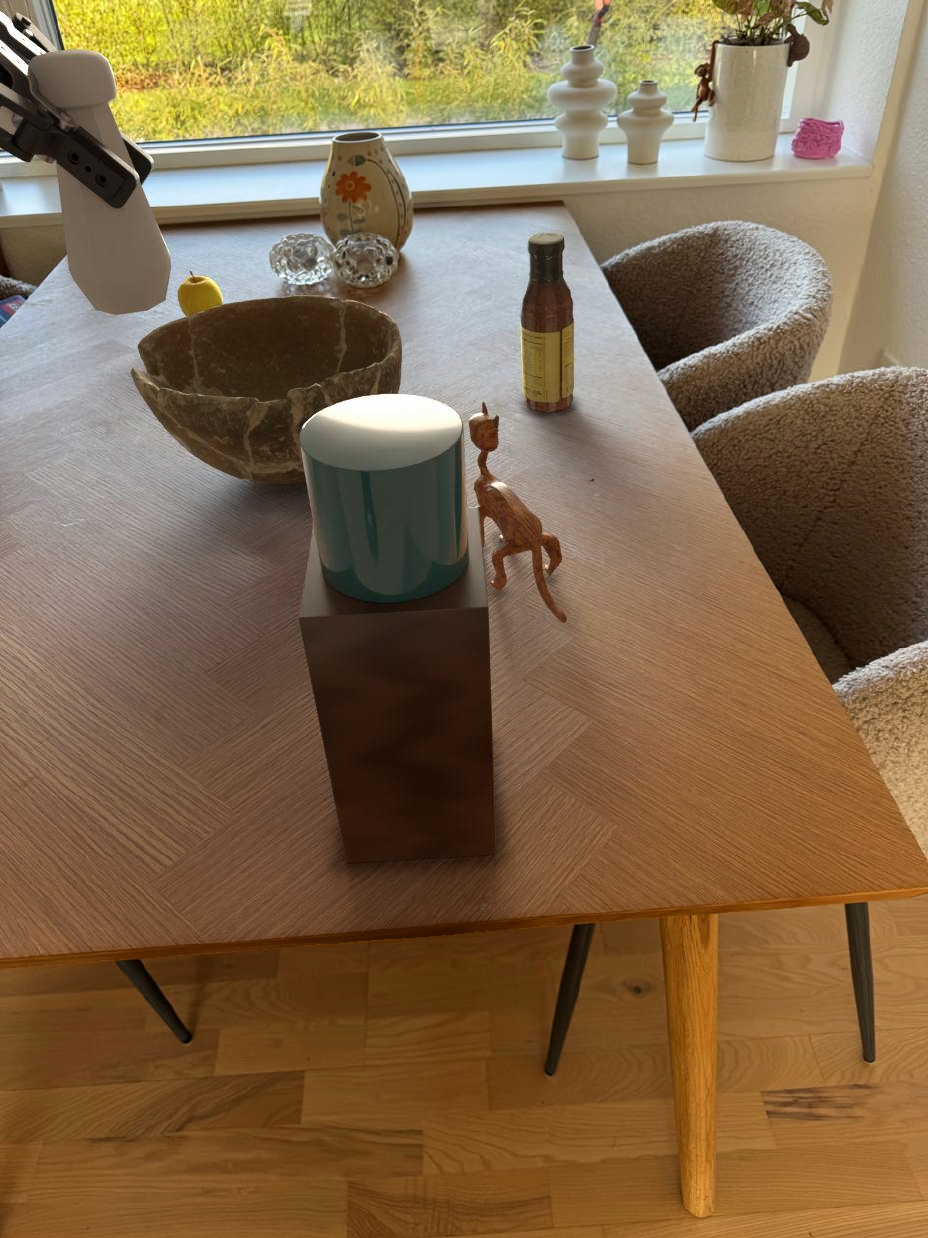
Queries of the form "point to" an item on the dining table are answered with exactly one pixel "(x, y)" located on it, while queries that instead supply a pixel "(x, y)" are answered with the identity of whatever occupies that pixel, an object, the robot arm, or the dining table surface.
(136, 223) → the salt shaker
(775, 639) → the dining table surface
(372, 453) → the white-topped teal cylinder
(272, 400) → the bowl
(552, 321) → the sauce bottle
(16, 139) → the robot arm
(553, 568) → the cat figurine
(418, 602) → the stand
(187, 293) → the apple
